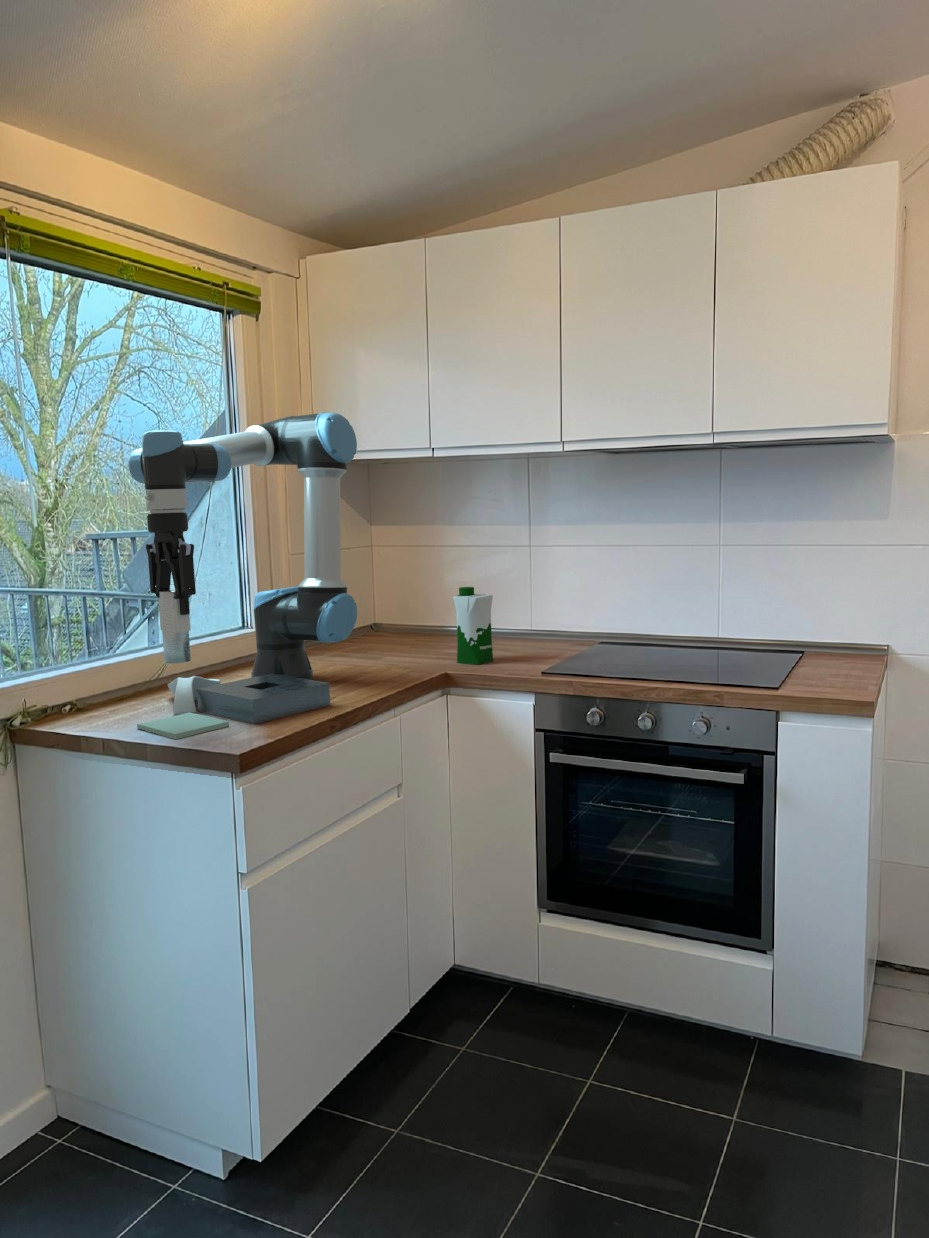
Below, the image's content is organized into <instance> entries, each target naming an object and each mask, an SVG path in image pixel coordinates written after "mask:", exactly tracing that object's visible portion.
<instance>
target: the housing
mask: <svg viewBox="0 0 929 1238" xmlns="http://www.w3.org/2000/svg"><path fill="white" fill-rule="evenodd" d="M330 691H331V690H330V682H326V681H320V680H314V679H312V680H309V679H303V678H297V677H290V676H284V675H278V674H268V675H263V676H258V677H253V678H251V677H248V678H243V679H237V680H235V681H233V680H232V681H228V682H224V683H220V684H218V685H213V686H208V687H203V688H198V689H197V699H198V700H197V712H199V713H204V714H208V715H213V716H217V717H220V718H226V719H231V720H233V721H238V722H243V723H248V724H253V725H255V724H256V725H257V724H260V723H265V722H269V721H272V720H273V721H274V720H277V719H281V718H284V717H289V716H292V715H297V714H301V713H305V712H309V711H312V710H317V709H321V708H326V707H330V706H331V696H330V693H331V692H330Z"/></svg>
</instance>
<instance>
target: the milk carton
mask: <svg viewBox="0 0 929 1238" xmlns="http://www.w3.org/2000/svg"><path fill="white" fill-rule="evenodd" d="M493 596H494V595H493V594H486V593H475V587H474V586H462V587H461V586H460V587H459V588H458V595H454V596H453V597H452V599H453V602H454V604H453V605H454V608H455V613H456V640H457V645H456V647H457V650H456V663H458V664H465V665H466V664H467V665H474V664H475V665H476V666H478V665H483V664H487V663H490V662H494V655H493V644H492V641H493V639H492V603H493V598H494V597H493Z"/></svg>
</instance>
